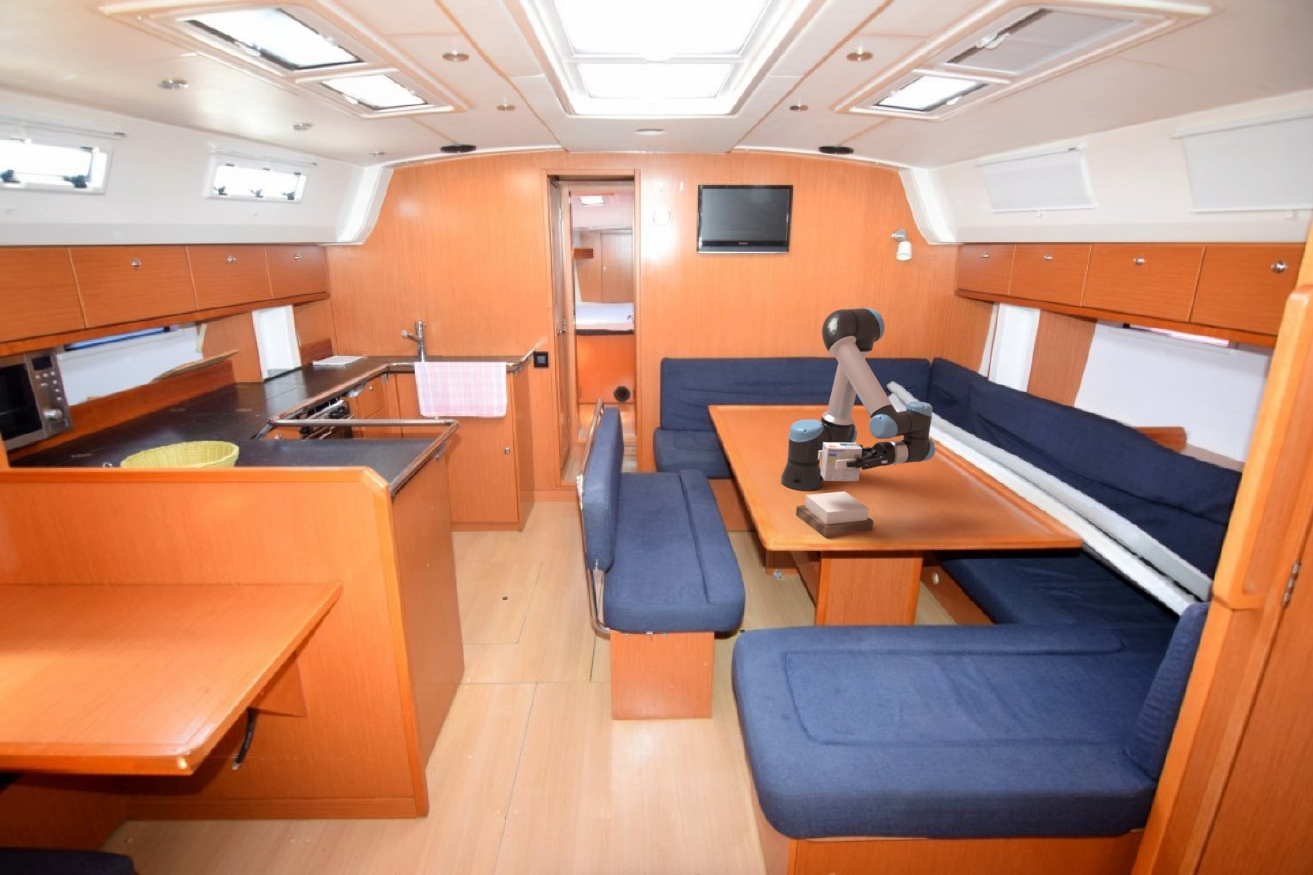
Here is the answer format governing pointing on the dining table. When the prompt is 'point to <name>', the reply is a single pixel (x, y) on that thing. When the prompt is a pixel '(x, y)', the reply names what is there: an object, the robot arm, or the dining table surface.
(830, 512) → the white slab
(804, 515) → the walnut slab
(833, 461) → the light bulb box
